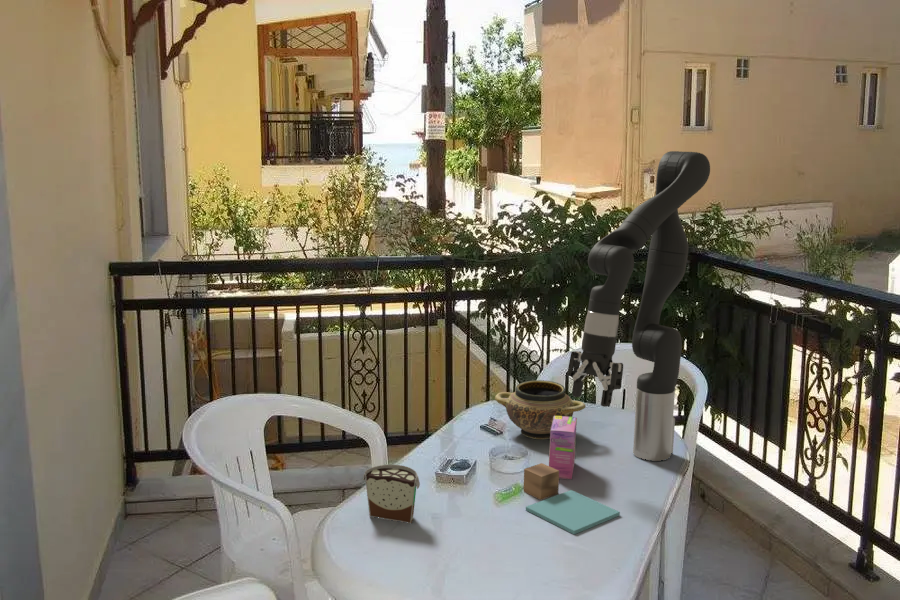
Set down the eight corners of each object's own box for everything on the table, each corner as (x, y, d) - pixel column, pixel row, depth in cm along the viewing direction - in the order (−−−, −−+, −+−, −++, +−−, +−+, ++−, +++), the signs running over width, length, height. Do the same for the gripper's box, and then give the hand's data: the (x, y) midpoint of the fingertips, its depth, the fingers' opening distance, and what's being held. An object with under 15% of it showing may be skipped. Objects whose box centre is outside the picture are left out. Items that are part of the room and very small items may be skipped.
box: (572, 479, 198) (574, 431, 196) (548, 477, 199) (549, 429, 197) (575, 462, 208) (577, 416, 206) (551, 460, 209) (553, 415, 207)
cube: (540, 485, 195) (541, 463, 194) (558, 493, 191) (559, 470, 190) (523, 491, 192) (524, 468, 190) (540, 500, 187) (541, 476, 186)
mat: (571, 493, 191) (571, 489, 191) (619, 515, 180) (619, 511, 180) (525, 510, 182) (525, 506, 182) (573, 534, 171) (574, 530, 171)
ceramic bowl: (486, 443, 228) (481, 395, 222) (511, 408, 242) (508, 362, 236) (574, 460, 217) (571, 410, 211) (595, 423, 231) (593, 375, 225)
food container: (428, 512, 181) (428, 468, 179) (417, 525, 175) (417, 479, 173) (375, 503, 185) (374, 460, 183) (363, 515, 179) (362, 471, 177)
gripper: (635, 338, 191) (625, 408, 193) (587, 326, 202) (578, 393, 203) (614, 338, 186) (603, 410, 188) (566, 326, 197) (556, 394, 199)
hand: (590, 401), depth 196 cm, fingers open, 8 cm apart
